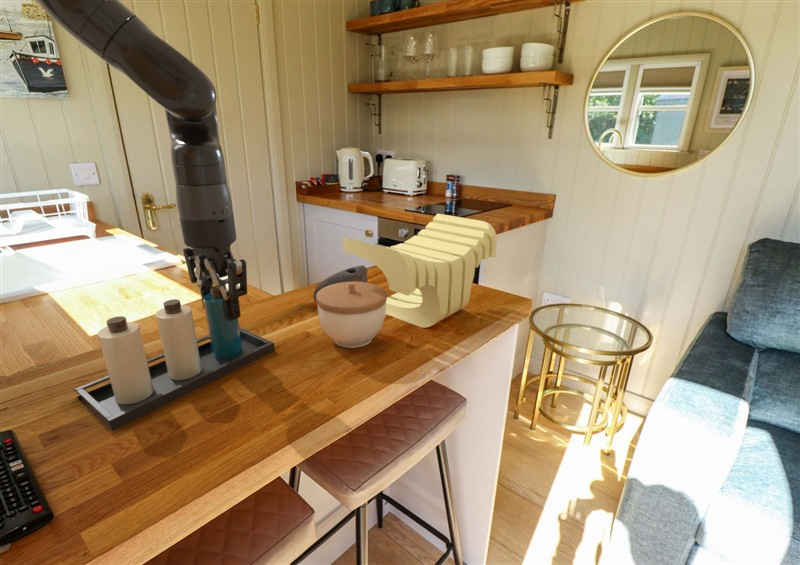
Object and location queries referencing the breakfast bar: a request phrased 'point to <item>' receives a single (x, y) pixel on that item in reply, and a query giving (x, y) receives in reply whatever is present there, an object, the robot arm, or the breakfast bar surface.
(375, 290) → the lidded bowl
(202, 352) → the tray
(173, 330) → the cream bottle
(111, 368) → the cream bottle
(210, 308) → the teal bottle
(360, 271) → the perforated stone tool
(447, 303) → the slatted curved stool
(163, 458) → the breakfast bar surface
